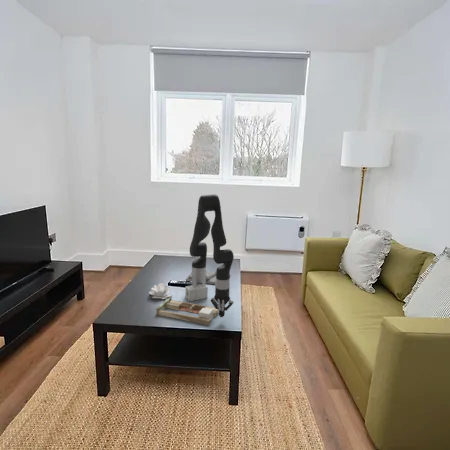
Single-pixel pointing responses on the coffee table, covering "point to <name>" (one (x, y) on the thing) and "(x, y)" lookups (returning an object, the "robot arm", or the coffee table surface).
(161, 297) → the lotus flower
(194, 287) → the supplement box
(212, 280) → the grey board with linkage
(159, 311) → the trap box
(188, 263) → the coffee table surface
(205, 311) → the cream block
